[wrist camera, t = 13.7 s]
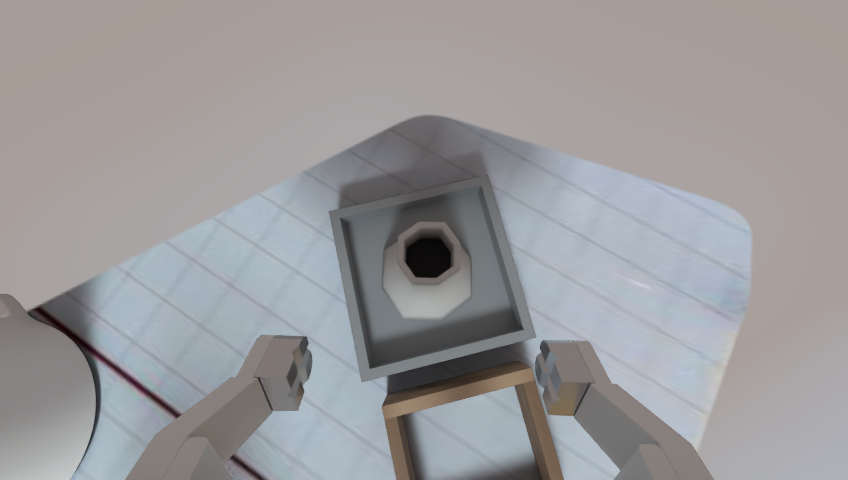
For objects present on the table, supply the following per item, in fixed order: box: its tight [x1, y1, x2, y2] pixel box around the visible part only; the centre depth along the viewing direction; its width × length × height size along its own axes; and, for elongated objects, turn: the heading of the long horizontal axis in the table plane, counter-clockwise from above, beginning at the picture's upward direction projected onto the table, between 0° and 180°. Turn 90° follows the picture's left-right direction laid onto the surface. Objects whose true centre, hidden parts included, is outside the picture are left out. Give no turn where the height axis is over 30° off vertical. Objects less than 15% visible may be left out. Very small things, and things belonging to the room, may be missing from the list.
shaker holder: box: [382, 361, 564, 480], centre depth 22 cm, size 10×10×3 cm
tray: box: [329, 175, 536, 382], centre depth 25 cm, size 12×12×2 cm
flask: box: [382, 222, 472, 320], centre depth 20 cm, size 7×7×10 cm
